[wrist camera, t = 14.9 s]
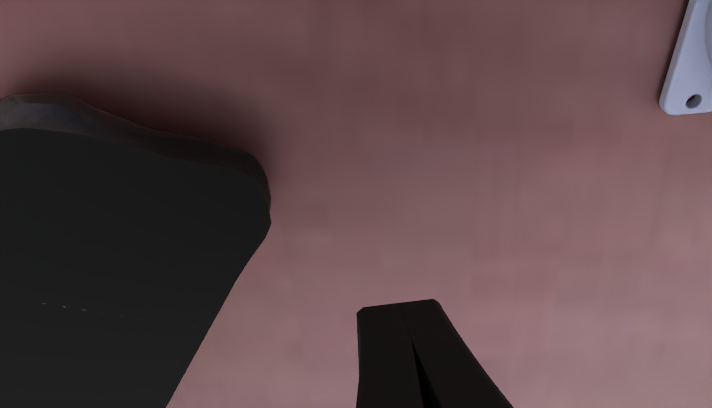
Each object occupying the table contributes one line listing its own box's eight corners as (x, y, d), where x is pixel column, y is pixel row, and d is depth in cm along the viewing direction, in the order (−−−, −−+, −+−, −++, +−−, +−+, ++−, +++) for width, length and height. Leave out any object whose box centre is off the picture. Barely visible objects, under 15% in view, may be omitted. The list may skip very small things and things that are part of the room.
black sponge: (13, 34, 17) (-41, 96, 14) (291, 143, 20) (294, 211, 17) (-65, 380, 25) (-109, 464, 22) (142, 420, 28) (127, 499, 25)
